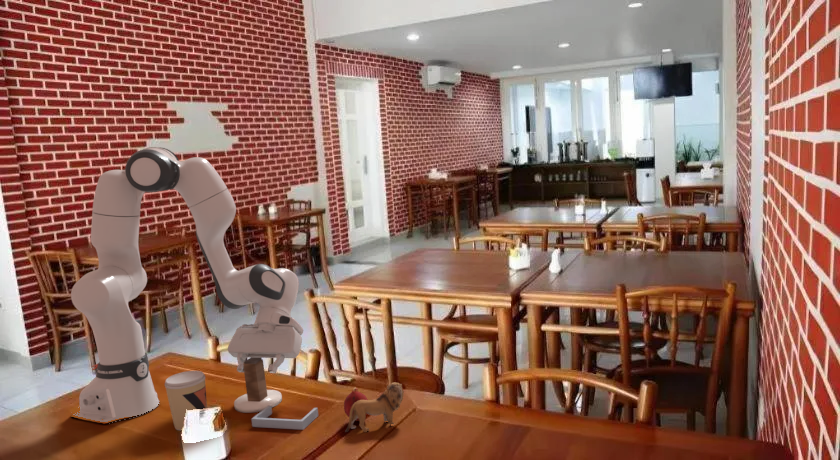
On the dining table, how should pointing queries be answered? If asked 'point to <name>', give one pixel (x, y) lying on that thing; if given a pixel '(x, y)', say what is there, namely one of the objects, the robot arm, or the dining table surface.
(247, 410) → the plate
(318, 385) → the dining table surface
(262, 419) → the grey u-shaped bracket
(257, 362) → the brown rectangular block
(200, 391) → the coffee cup
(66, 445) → the dining table surface
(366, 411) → the lion figurine
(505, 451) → the dining table surface
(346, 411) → the onion
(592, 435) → the dining table surface
